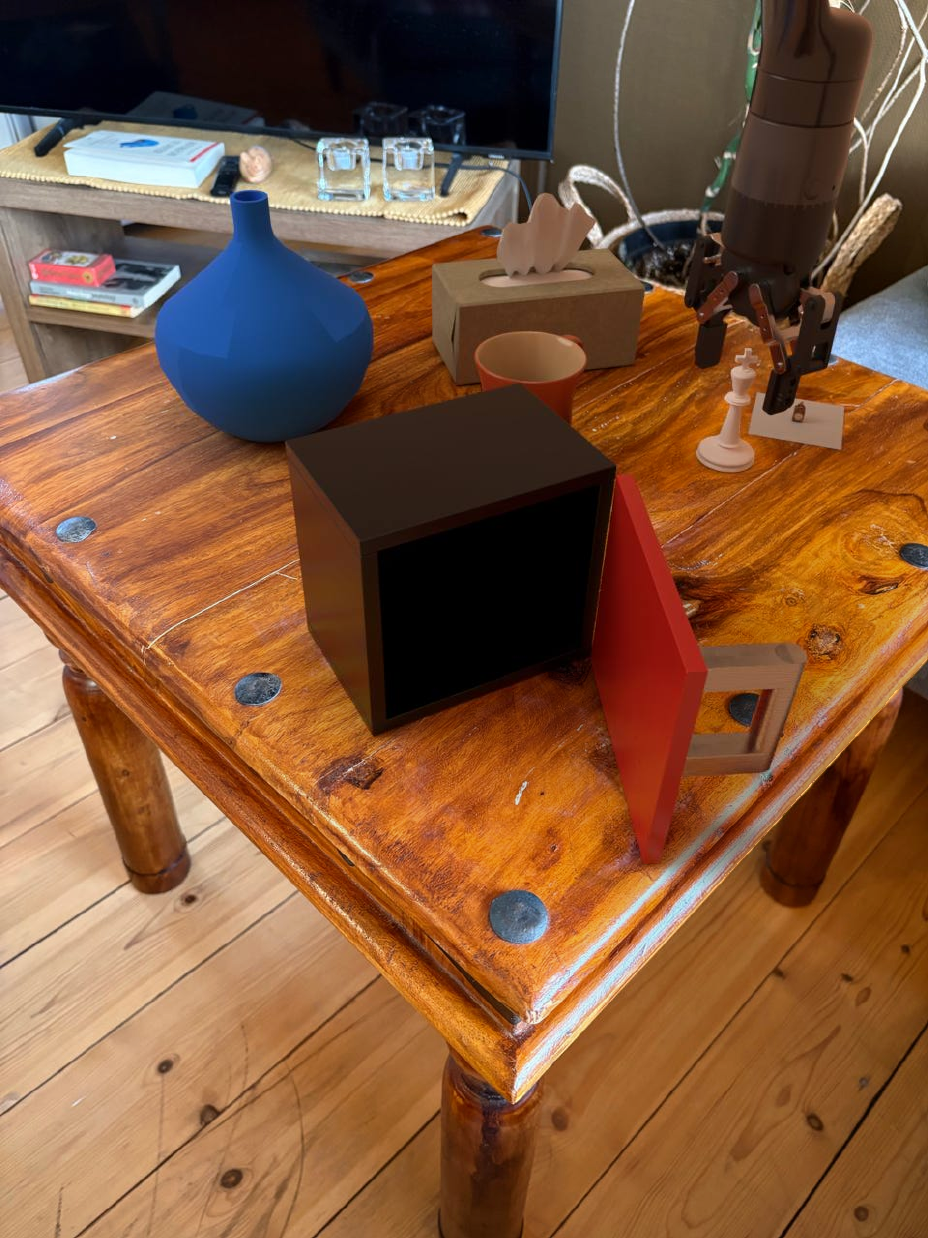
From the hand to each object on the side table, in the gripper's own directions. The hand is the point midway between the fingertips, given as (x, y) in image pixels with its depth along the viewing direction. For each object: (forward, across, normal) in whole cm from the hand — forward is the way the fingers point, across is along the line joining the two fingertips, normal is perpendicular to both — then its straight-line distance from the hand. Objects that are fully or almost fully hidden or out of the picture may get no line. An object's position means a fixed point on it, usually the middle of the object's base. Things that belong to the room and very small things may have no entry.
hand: (739, 387), depth 81 cm
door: (+6, -25, +24) cm, 35 cm away
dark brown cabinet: (+6, -10, +32) cm, 34 cm away
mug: (+7, +7, +15) cm, 18 cm away
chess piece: (+7, 0, 0) cm, 7 cm away
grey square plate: (+7, +2, -10) cm, 12 cm away
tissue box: (+7, +24, +5) cm, 25 cm away
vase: (+7, +24, +32) cm, 41 cm away
